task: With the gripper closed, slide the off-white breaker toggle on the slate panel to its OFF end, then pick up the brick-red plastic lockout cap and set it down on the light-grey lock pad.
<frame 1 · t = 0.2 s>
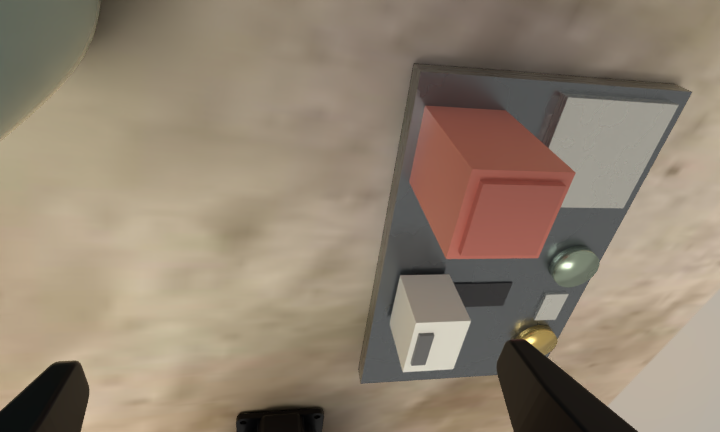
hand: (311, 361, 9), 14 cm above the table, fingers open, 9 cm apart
panel: (488, 251, 27), on the table
lockout cap: (455, 147, 21), point 1 cm above the table, touching panel
breaker: (427, 323, 25), point 3 cm above the table, slide at 0.0 cm
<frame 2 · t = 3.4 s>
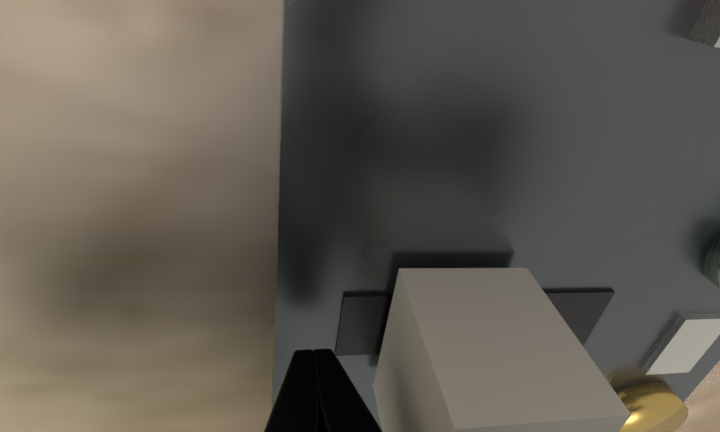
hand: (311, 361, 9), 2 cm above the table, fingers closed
panel: (557, 213, 11), on the table
breaker: (472, 401, 9), point 3 cm above the table, slide at 1.6 cm, touching gripper
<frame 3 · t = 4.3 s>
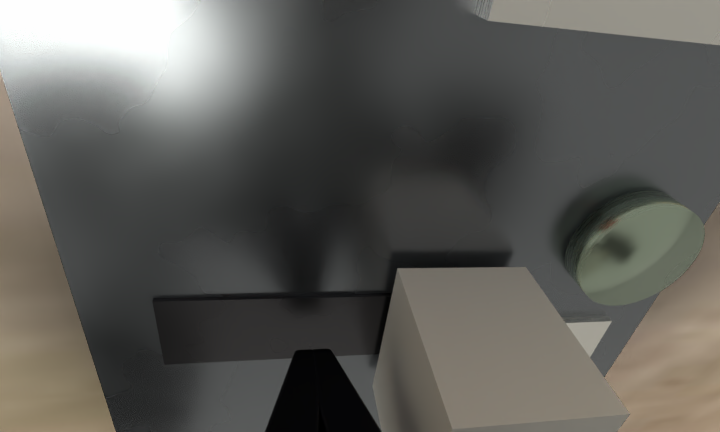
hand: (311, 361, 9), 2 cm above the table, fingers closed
panel: (406, 210, 10), on the table
breaker: (471, 400, 9), point 3 cm above the table, slide at 5.5 cm, touching gripper
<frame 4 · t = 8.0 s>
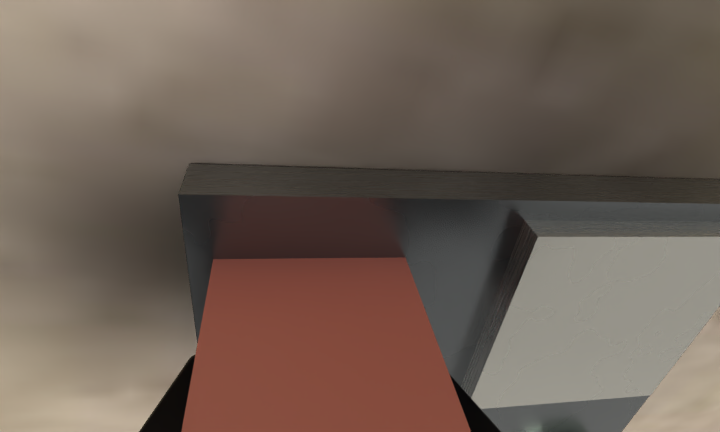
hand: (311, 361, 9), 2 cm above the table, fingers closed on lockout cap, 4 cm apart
lockout cap: (308, 325, 10), point 1 cm above the table, touching gripper, panel
when the fingers open (4 cm above the table, at t = 11.6 s): lockout cap drops 1 cm, resting on panel.
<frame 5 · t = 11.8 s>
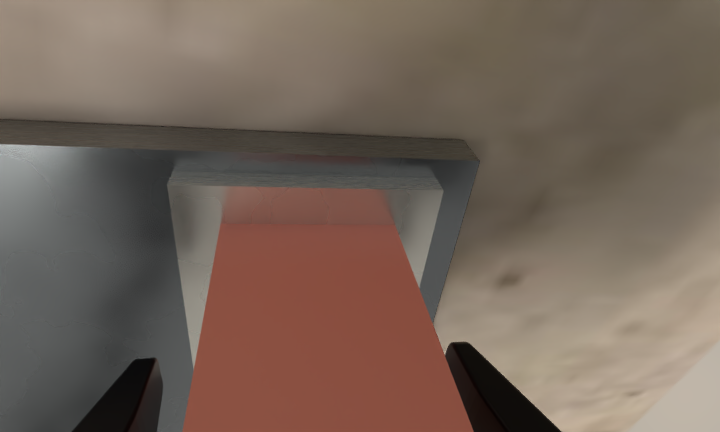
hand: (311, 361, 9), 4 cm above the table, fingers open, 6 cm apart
panel: (212, 408, 16), on the table
lockout cap: (306, 288, 11), point 2 cm above the table, touching panel
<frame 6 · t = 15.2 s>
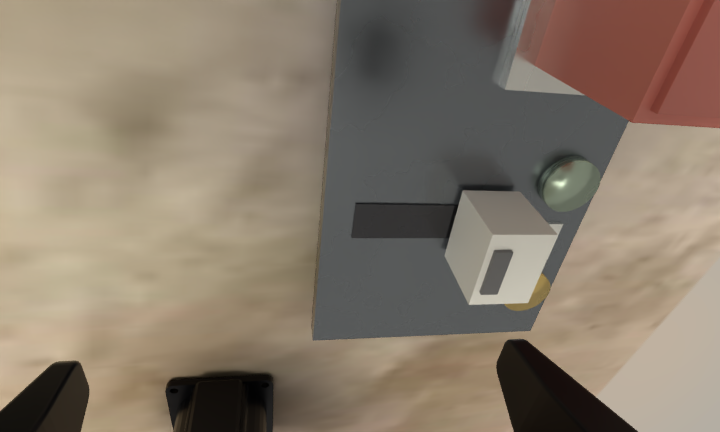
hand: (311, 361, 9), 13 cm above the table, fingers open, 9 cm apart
panel: (463, 166, 22), on the table
lockout cap: (598, 17, 17), point 2 cm above the table, touching panel
breaker: (496, 247, 21), point 3 cm above the table, slide at 5.5 cm
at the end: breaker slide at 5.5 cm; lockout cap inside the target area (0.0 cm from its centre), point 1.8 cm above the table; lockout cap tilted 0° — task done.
